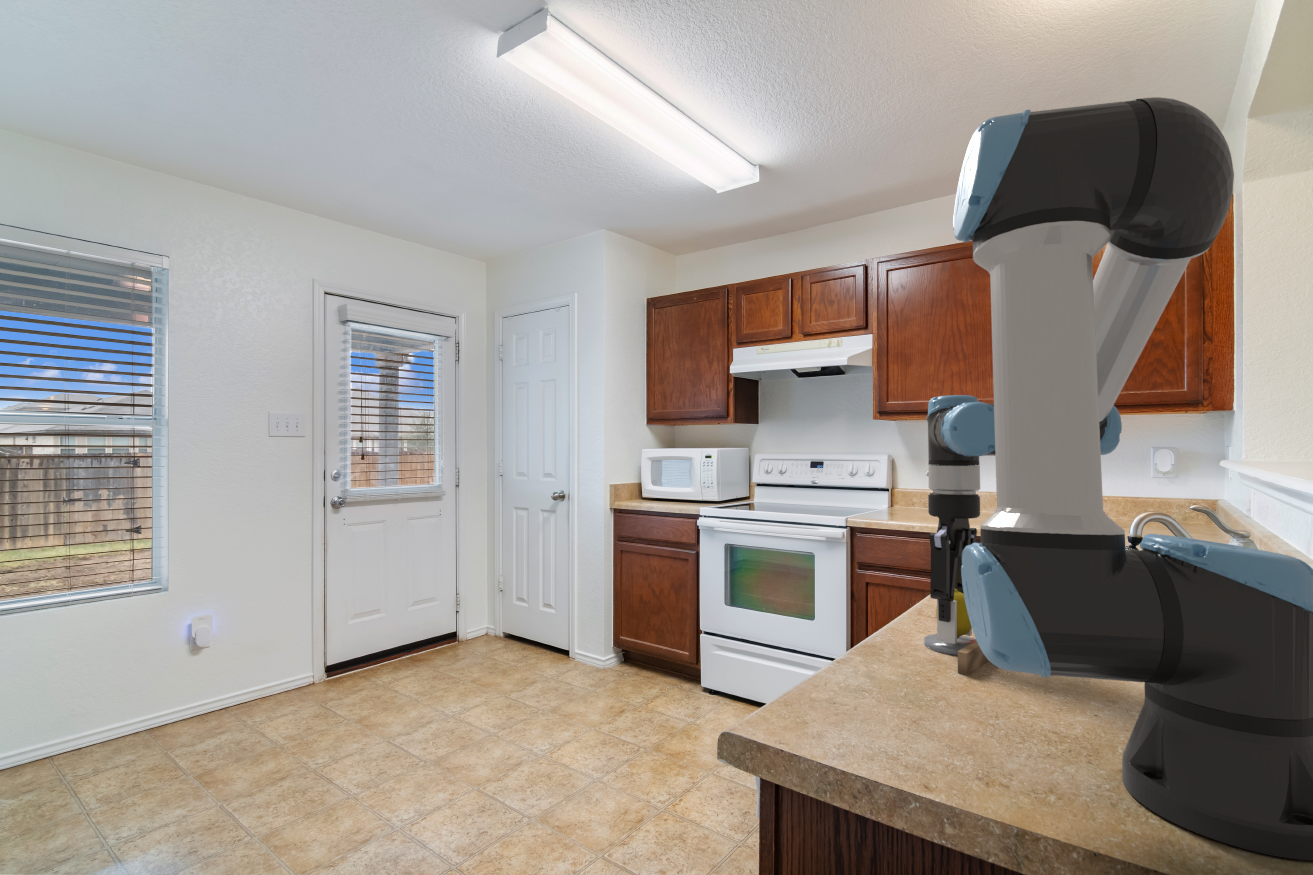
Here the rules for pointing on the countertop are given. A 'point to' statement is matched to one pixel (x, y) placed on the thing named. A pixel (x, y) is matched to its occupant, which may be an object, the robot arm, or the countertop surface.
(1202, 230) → the robot arm
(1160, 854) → the countertop surface
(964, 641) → the coaster
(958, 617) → the lemon
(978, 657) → the divider
